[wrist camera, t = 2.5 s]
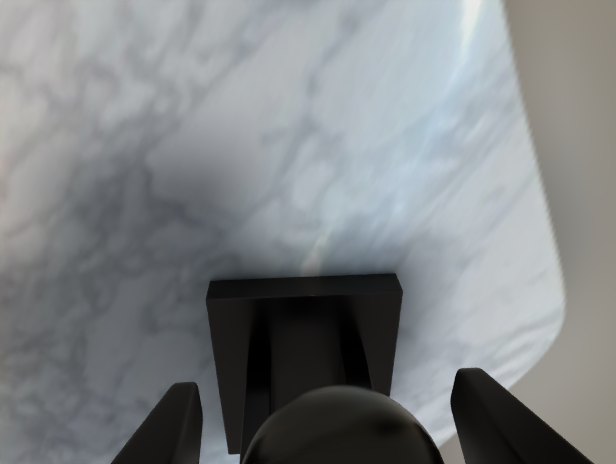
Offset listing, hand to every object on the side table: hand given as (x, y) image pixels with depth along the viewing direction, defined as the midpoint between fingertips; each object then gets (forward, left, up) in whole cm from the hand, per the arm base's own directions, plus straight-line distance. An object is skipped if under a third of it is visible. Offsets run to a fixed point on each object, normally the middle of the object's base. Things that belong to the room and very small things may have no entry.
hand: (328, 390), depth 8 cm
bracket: (+9, 0, -10) cm, 14 cm away
